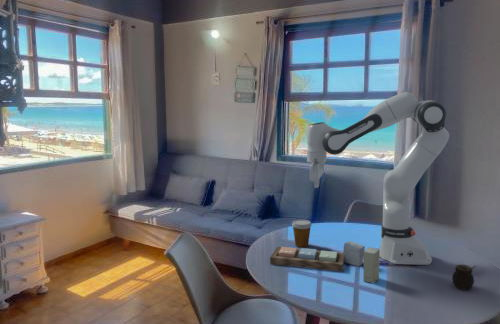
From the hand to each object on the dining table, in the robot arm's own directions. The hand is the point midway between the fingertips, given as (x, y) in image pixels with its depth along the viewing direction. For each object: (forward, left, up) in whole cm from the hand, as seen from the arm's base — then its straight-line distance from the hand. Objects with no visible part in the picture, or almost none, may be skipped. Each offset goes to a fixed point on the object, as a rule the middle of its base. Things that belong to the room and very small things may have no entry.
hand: (316, 187), depth 179 cm
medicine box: (-17, +10, -31) cm, 37 cm away
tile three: (+11, +14, -30) cm, 34 cm away
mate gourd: (-58, +23, -31) cm, 70 cm away
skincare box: (-25, +25, -31) cm, 47 cm away
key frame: (+2, +14, -31) cm, 34 cm away
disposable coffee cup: (+8, -5, -31) cm, 33 cm away
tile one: (-7, +14, -30) cm, 33 cm away
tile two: (+2, +14, -29) cm, 32 cm away
